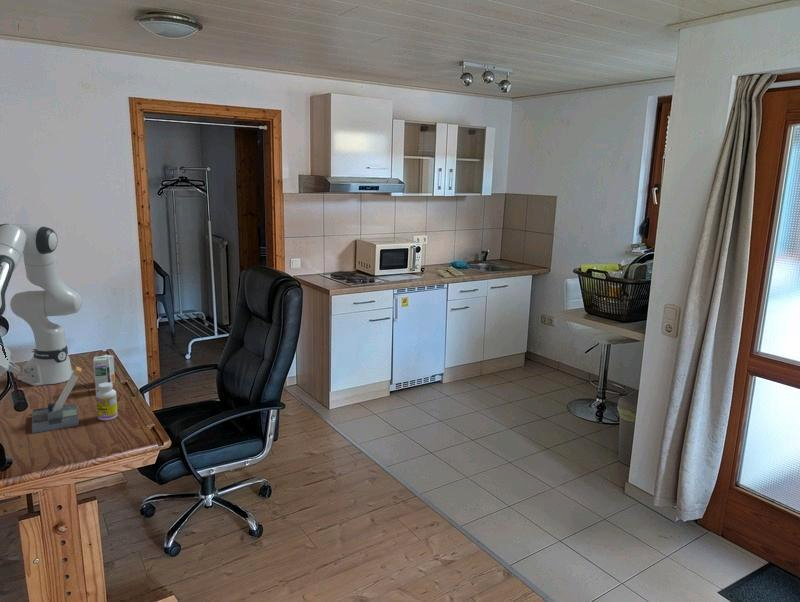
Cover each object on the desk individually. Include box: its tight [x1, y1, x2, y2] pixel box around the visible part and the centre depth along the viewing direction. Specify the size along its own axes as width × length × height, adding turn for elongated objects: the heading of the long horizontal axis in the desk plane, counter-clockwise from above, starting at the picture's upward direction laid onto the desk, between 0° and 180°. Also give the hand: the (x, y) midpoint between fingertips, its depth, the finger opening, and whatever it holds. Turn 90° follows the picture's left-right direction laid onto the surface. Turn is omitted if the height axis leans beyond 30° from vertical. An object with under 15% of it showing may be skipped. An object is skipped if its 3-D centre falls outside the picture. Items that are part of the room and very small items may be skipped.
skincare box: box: [102, 354, 116, 384], centre depth 243 cm, size 6×4×12 cm
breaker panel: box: [31, 401, 80, 434], centre depth 206 cm, size 14×16×5 cm
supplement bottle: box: [95, 382, 118, 421], centre depth 210 cm, size 7×7×13 cm
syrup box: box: [92, 355, 111, 394], centre depth 235 cm, size 6×6×14 cm
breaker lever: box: [52, 365, 83, 412], centre depth 207 cm, size 2×7×18 cm, turn 31°
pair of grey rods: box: [32, 403, 77, 412], centre depth 216 cm, size 14×3×2 cm, turn 121°
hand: (19, 371), depth 198 cm, fingers closed
